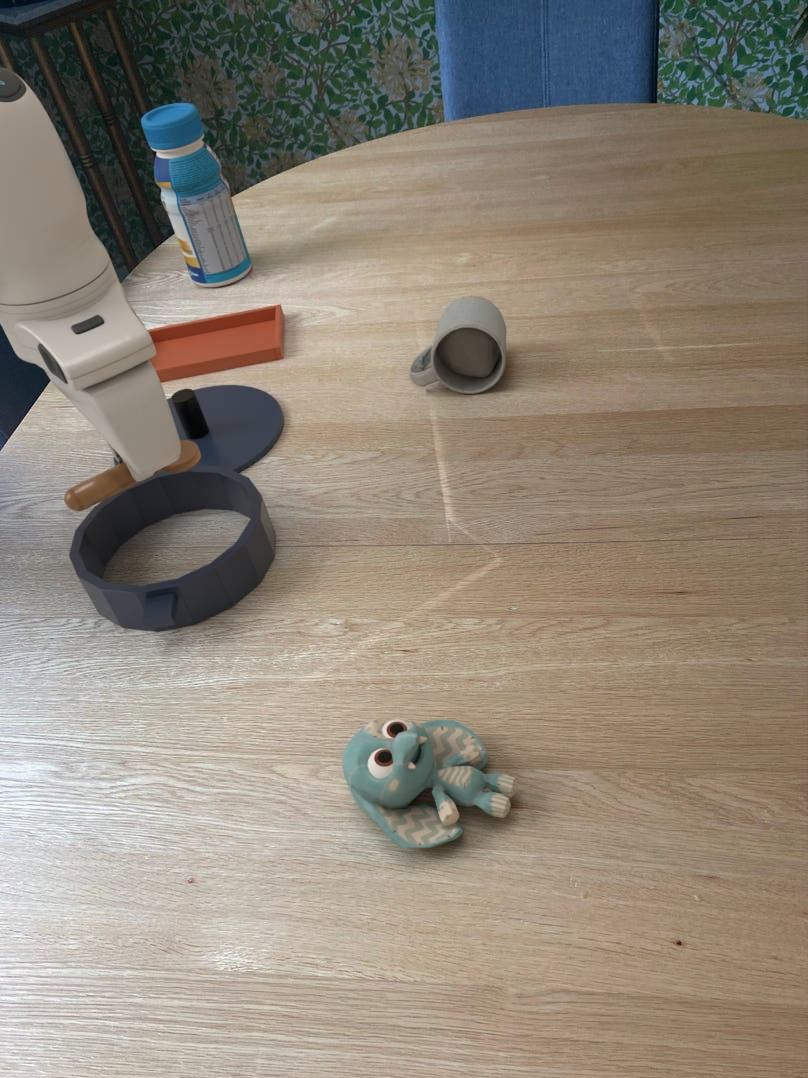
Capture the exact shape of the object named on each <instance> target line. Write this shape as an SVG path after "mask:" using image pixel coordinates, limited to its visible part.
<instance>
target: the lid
mask: <svg viewBox="0 0 808 1078" xmlns="http://www.w3.org/2000/svg"><path fill="white" fill-rule="evenodd" d="M166 399H167V402H168V405H169V408H170V411H171V414H172V417H173V420H174V423H175V426H176V429H177V433H178V436H179V440H189V441H193V442H195V443H196V444H197V445H198V448H199V450H200V453H201V457H200V460H199V461H198V463H197V464H196V466H213V467H225V468H227V469H230V470H232V471H234V472H237V473H239V474H240V473H241V472H242V471H244V470H246V469H247V468H249V467H251V466H253V464H256V462H258V461H259V460H261V458H263V457H264V456H265V455H267V453H268V452H270V450H271V449H272V448H273V446H274V445H275V444H276V442H277V441H278V440H279V438H280V436H281V434H282V431H283V429H284V424H285V423H284V422H285V419H284V413H283V409H282V407H281V405H280V403H279V402H278V400H277V399H276V398H275V397H273V395H272V394H269V393H268V392H267V391H264V390H263V389H260V388H258V387H257V388H256V387H253V386H247V385H242V384H241V385H239V384H219V385H211V386H205V387H200V388H195V389H191V388H183V389H179V390H177V391H175V392H174V393H173V394H172V395H171V396H170V397H169V398H166ZM112 458H113V463H114V465H115V466H117V465H119V464H120V463H119V462H118V461H117V460H116V459H115V458H114V456H113V455H112ZM115 466H114V467H115ZM161 471H163V470H161ZM161 471H160V472H161Z"/></svg>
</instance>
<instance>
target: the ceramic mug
mask: <svg viewBox="0 0 808 1078" xmlns="http://www.w3.org/2000/svg"><path fill="white" fill-rule="evenodd" d="M429 364H430V366H431V367H428V368H427V366H428V365H429ZM506 364H507V325H506V322H505V318H504V316H503V314H502V312H501V310H500V309H499V307H497V305H495V304H494V303H493V302H491V301H490V300H488V299H486V298H484V297H481V296H477V295H476V296H475V295H468V296H462V297H460V298H456V299H455V300H454V301H452V302H451V303H450V304H449V305H448V306H447V307H446V308H445V309H444V310H443V311H442V314H441V315H440V317H439V321H438V322H437V325H436V331H435V335H434V338H433V343H432V344H431V345H429V346H428V347H426V348H425V349H423V350H422V351H421V352H420V353H419V354H418V355H417V356H416V357H415V359H414V360H413V361H412V363H411V364H410V365H409V366H410V367H409V370H408V373H409V376H410V377H411V379H412V380H413V381H414V383H415V384H416V385H419V386H422V387H425V386H426V387H427V386H428V385H431V384H434V383H437V382H438V381H439V383H441V384H442V385H443V386H444V387H446V388H447V389H448V390H451V391H452V392H455V393H459V394H465V395H474V394H480V393H484V392H485V391H487V390H489V389H491V388H493V387H494V386H495V385H496V384H498V382H499V381H500V379H501V378H502V376H503V374H504V372H505V369H506V366H507V365H506ZM425 368H427V369H425Z"/></svg>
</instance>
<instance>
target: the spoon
mask: <svg viewBox="0 0 808 1078" xmlns="http://www.w3.org/2000/svg"><path fill="white" fill-rule="evenodd" d="M180 444H181V453H180V457H179V459H178V460H176V461H175V462H173V463H171V464H169V465H167V466H165V467H163V468H162V469H159V470H157V471H155V473H154V475H156V474H158V473H159V472H160V471H161V470H163V471H165V472H168V473H177V472H182V471H185V470H188V469H190V468H191V467H193V466H194V465H196V464H197V463H198V461H199V460H200V457H201V453H200V450H199V448H198V445H197V444H196V443H195V442H193V441H189V440H180ZM154 475H153V476H154ZM151 477H152V476H151ZM149 478H150V477H149ZM147 479H148V478H147ZM145 480H146V479H145ZM143 481H144V480H143ZM141 482H142V481H141ZM138 483H140V482H138V481H136V480H135V479H134V478H133V477H132V476H131V475H130V474H129V472H128V471H127V468H126V466H125V464H124V462H123V463H121V464H119V465H117V466H112V467H110V468H109V469H107V470H104V471H102V472H100V473H98V474H96V475H94V476H92V477H90V478H87V479H86V480H83V481H82V482H80V483H78V484H76V485H73V486H72V487H69V488H68V489H67V490H66V491H65V492H64V495H63V500H64V503H65V505H66V507H67V508H68V509H69V510H71V511H73V512H83V511H85V510H87V509H89V508H92V507H93V506H96V505H98V504H99V503H100V502H102V501H103V500H105V499H107V498H109V497H111V496H113V495H115V494H117V493H119V492H121V491H123V490H126V489H128V488H130V487H132V486H134V485H136V484H138Z"/></svg>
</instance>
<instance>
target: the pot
mask: <svg viewBox="0 0 808 1078" xmlns="http://www.w3.org/2000/svg"><path fill="white" fill-rule="evenodd" d="M201 510H218V511H230V512H231V511H232V512H236V513H237V514H240V515H242V516H243V517H244V516H245V517H246V518H249V521H248V523H247V524H246V526H245V527H244V529H243V531H242V532H241V533H240V535H239V537H238V538H237V540H236V542H235V543H234V544H232V545H231V546H230V547H229V548H228V549H226V550H225V551H224V552H222V553H221V554H220V555H219V556H217V557H216V558H215V559H214V560H212V561H211V562H210V563H207V564H205V565H204V566H202V567H199V568H197V569H194V570H193V571H191V572H188V573H186V574H183V575H182V576H179V577H177V578H174V579H168V580H163V581H157V582H153V583H147V584H141V585H134V584H125V583H113V582H109V581H106V580H104V579H103V577H104V573H105V572H104V571H105V568H106V566H108V564H109V563H110V561H111V560H112V559H113V557H114V556H115V555H116V554H117V552H118V551H119V549H120V548H121V547H122V546H123V545H124V544H125V543H127V542H128V541H129V540H131V539H133V538H134V537H135V536H136V535H138V534H139V533H141V532H142V531H143V530H144V529H145V528H147V527H150V526H152V525H155V524H157V523H159V522H162V521H164V520H166V519H169V518H171V517H174V516H176V515H181V514H186V513H191V512H195V511H196V512H197V511H201ZM276 539H277V532H276V530H275V528H274V525H273V522H272V519H271V516H270V514H269V511H268V509H267V506H266V503H265V501H264V497H263V495H262V494H261V492H260V490H258V488H257V487H256V486H255V484H254V482H253V481H252V480H251V478H250V477H249V476H246V475H244V474H241V473H240V472H239V473H237V472H234V471H232V470H230V469H227V468H225V467H213V466H196V465H194V466H193V467H191V468H190V469H188V470H185V471H182V472H177V473H168V472H165V471H161V472H159V473H158V474H156V475H154V476H152V477H150V478H148V479H146V480H144V481H142V482H140V483H138V484H136V485H134V486H132V487H130V488H128V489H126V490H123V491H121V492H119V493H117V494H115V495H113V496H111V497H109V498H107V499H105V500H103V501H101V502H99V503H97V504H95V505H94V507H93V508H92V509H91V510H90V512H89V513H88V514H87V515H86V516H85V518H84V519H83V520H82V521H81V522H80V524H79V525H78V526H77V528H75V530H74V534H73V538H72V542H71V546H70V549H69V553H68V557H69V559H70V562H71V564H72V567H73V569H74V571H75V574H76V576H77V578H78V580H79V582H80V584H81V585H82V587H83V588H84V590H85V592H86V594H87V595H88V597H89V599H90V600H91V603H92V604H93V606H94V607H95V609H96V611H97V613H98V614H99V615H100V616H102V617H104V618H106V619H107V620H108V621H110V622H111V623H113V624H116V625H117V626H118V627H121V628H123V629H130V630H136V631H145V632H146V631H147V632H162V631H170V630H174V629H175V630H176V629H180V628H185V627H189V626H193V625H197V624H199V623H202V622H203V621H206V620H209V619H211V618H213V617H216V616H217V615H219V614H221V613H223V612H226V611H227V610H229V609H230V608H232V607H234V606H235V605H236V604H238V603H240V602H241V601H242V600H243V599H244V598H246V597H247V596H248V595H249V594H250V593H251V592H252V591H254V589H256V588H257V587H258V586H259V585H260V584H261V583H262V581H263V579H264V578H265V576H266V574H267V572H268V571H269V569H270V567H271V566H272V564H273V562H274V561H275V559H276V542H277V540H276Z"/></svg>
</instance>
